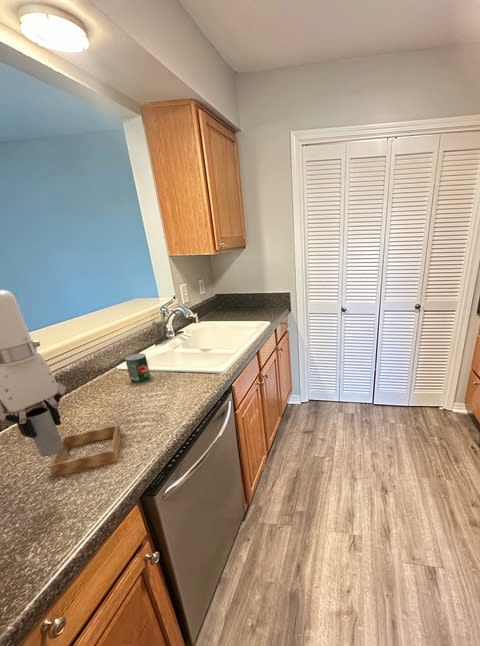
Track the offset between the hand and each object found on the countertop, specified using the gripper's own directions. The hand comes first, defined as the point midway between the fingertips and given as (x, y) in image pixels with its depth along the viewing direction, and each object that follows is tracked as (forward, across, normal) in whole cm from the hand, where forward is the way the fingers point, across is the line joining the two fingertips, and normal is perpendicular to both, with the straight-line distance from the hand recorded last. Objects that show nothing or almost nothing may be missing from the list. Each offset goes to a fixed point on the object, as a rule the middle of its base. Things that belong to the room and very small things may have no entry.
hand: (43, 429), depth 72 cm
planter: (+6, 0, 0) cm, 6 cm away
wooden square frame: (+17, -12, -8) cm, 22 cm away
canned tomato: (+17, -56, -35) cm, 68 cm away
